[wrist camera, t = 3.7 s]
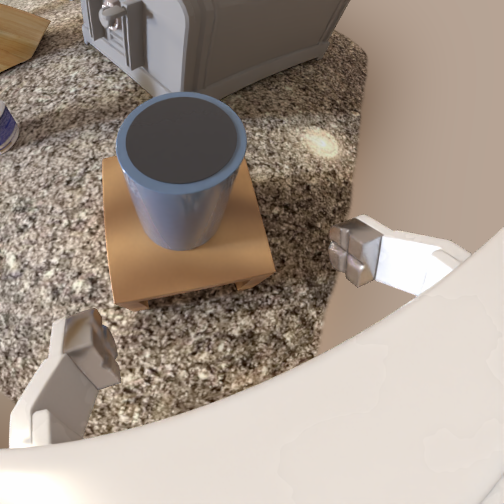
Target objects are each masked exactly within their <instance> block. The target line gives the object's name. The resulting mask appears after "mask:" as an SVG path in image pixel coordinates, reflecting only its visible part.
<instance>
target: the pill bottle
mask: <svg viewBox="0 0 504 504" xmlns="http://www.w3.org/2000/svg"><path fill="white" fill-rule="evenodd" d="M18 135H19V127H18V125H17V124H16V122H15V120H14V119H13V117H12V115H11V114H10V112H9V110H8V109H7V107H6V105H5V103H4V102H3V101H2V100H0V154H3V153H5V152H6V151H8V150H9V149H10V148H11V147H12V146H13V144H14V143H15V142H16V140H17V138H18Z"/></svg>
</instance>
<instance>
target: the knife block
mask: <svg viewBox="0 0 504 504" xmlns="http://www.w3.org/2000/svg"><path fill="white" fill-rule="evenodd" d="M50 22H51V21H50V20H47V19H45V18H42V17H39V16H37V15H34V14H31V13H28V12H26V11H23V10H20V9H17V8H13V7H10V6H7V5H4V4H0V72H2V71H4V70H6V69H8V68H10V67H12V66H14V65H17V64H19V63H23V62H25V61H26V60H28V59H30V58H31V57H32V55H33V54H34V52H35V50H36V48H37V47H38V45H39V42H40V40H41V38H42V37H43V35H44V33H45V31H46V29H47V27H48V25H49V24H50Z"/></svg>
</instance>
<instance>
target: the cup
mask: <svg viewBox="0 0 504 504" xmlns="http://www.w3.org/2000/svg"><path fill="white" fill-rule="evenodd" d="M246 148H247V135H246V131H245V128H244V125H243V123H242V121H241V120H240V118H239V117H238V115H237V114H236V113H235V112H234V111H233V110H232V109H231V108H230V107H229V106H227V105H226V104H225V103H223V102H221V101H220V100H218V99H216V98H213V97H211V96H208V95H205V94H201V93H195V92H173V93H167V94H163V95H160V96H157V97H154V98H152V99H150V100H148V101H146V102H144V103H142V104H141V105H139V106H138V107H137V108H135V109H134V110H133V111H132V112H131V113H130V114H129V115H128V116H127V118H126V119H125V120H124V122H123V124H122V125H121V127H120V129H119V132H118V135H117V139H116V154H117V158H118V162H119V165H120V168H121V171H122V174H123V177H124V180H125V183H126V185H127V188H128V191H129V194H130V197H131V199H132V202H133V205H134V208H135V210H136V213H137V216H138V218H139V221H140V223H141V226H142V228H143V230H144V232H145V233H146V235H147V236H148V237H149V238H150V239H151V240H152V241H153V242H154V243H155V244H157V245H159V246H161V247H163V248H165V249H169V250H174V251H186V250H191V249H195V248H197V247H200V246H201V245H203V244H205V243H206V242H208V241H209V240H210V239H211V238H212V237H213V236H214V235H215V233H216V232H217V230H218V229H219V227H220V224H221V222H222V219H223V216H224V213H225V210H226V207H227V204H228V201H229V198H230V195H231V193H232V190H233V187H234V184H235V181H236V178H237V176H238V173H239V170H240V167H241V164H242V162H243V159H244V156H245V152H246Z"/></svg>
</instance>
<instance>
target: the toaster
mask: <svg viewBox="0 0 504 504" xmlns="http://www.w3.org/2000/svg"><path fill="white" fill-rule="evenodd" d="M70 1H74V0H70ZM349 2H350V0H81V8H82V15H83V21H84V24H83V25H82V32H83V37H84V42H85V43H86V44H87V45H88V44H91V45H93V46H94V47H95V48H96V49H97V50H99V51H100V52H101V53H102V54H104V55H105V56H106V57H107V58H108V59H110V60H111V61H112V62H113V63H114V64H116V65H117V66H118V67H119V68H120V69H122V70H123V71H124V72H125V73H126V74H127V75H129V76H130V77H131V78H132V79H133V80H134V81H136V82H137V83H138V84H139V85H140V86H141V87H142V88H144V89H145V90H146V91H147V92H148V93H149V94H150V95H152V96H153V97H157V96H160V95H163V94H167V93H173V92H195V93H201V94H205V95H208V96H211V97H213V98H216V99H218V100H220V99H222V98H224V97H226V96H228V95H230V94H232V93H234V92H236V91H238V90H240V89H242V88H244V87H246V86H248V85H250V84H253V83H255V82H257V81H259V80H261V79H264V78H266V77H268V76H271V75H273V74H275V73H278V72H280V71H282V70H285V69H287V68H290V67H292V66H295V65H298V64H300V63H303V62H305V61H308V60H311V59H315V60H319V59H322V57H323V55H324V54H325V52H326V50H327V48H328V46H329V44H330V43H329V42H328V40H329V38H330V36H331V34H332V32H333V30H334V29H335V27H336V25H337V23H338V21H339V19H340V18H341V16H342V14H343V12H344V10H345V9H346V7H347V5H348V3H349Z"/></svg>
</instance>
